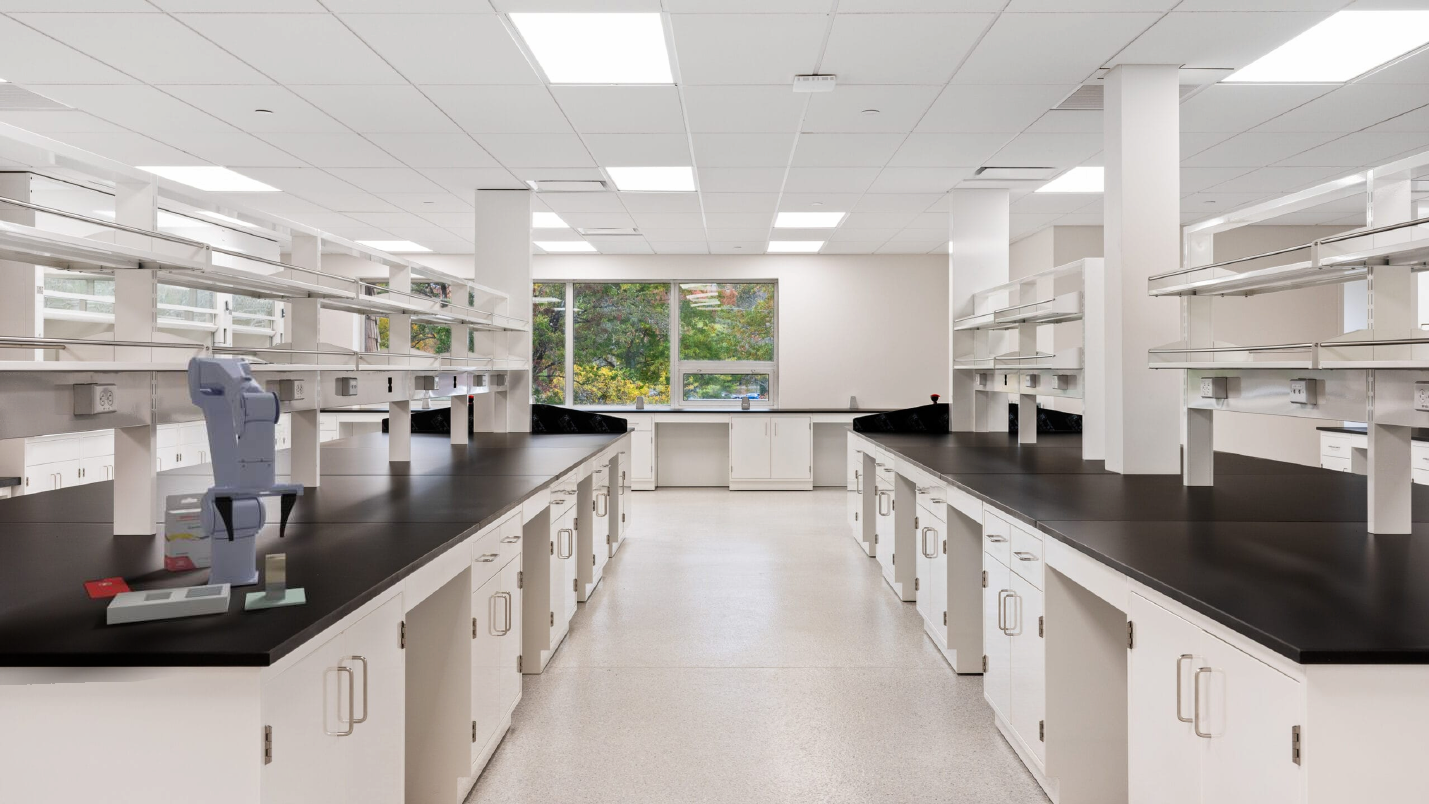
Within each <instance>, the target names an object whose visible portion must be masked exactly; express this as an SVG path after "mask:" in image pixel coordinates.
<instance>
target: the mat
mask: <svg viewBox="0 0 1429 804" xmlns="http://www.w3.org/2000/svg"><path fill="white" fill-rule="evenodd" d="M303 604H306V595H305V588H304V587H301V588H291V589H288V588H287V589H285V599H278V600H268V601H266V591H259V592H258V591H256V592H247V593H246V597H245V604H244V611H247V610H257V609H266V608H277V607H287V606H295V605H303Z"/></svg>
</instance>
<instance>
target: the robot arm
mask: <svg viewBox="0 0 1429 804" xmlns="http://www.w3.org/2000/svg"><path fill="white" fill-rule="evenodd" d="M187 383H188V389H189V390H188V391H189V397H190V399H191V403H192V404H193V405H195V406H197V407H199V408H201V410H202V414H203V416H204V420H205V426H206V433H207V438H208V439H207V440H208V446H209V452H210V453H209V454H210V459H211V466H212V472H213V473H212V474H213V480H214V481H213V482H214V486H213V487H208V488H207V491H205V492H204V493H205V494H204V495H203V497H202V499H201V502H200V507H201V513H200V521H201V528H202V531H203V532H204V533H205V534H206V535H207V536H210V537H211V566H210V576H209V579H208V581H207V584H206V585H215V584H226V583H230V587H235V586H236V587H237V586H246V585H255V584H258V582H259V581H258V580H259V571H258V570H256V535H258V534H259V531H261V530H262V529H263V527H265V525H266V518H267V510H266V504H265V501H264V500H263V498H264V497H267V498H268V497H280V522H279V539H281V538H283V539H284V538H285V532H286V527H287V524H288V520H289V517H290V515H291V512H292V511H293V508H294V505H295V504H296V501H297V496H304V483H276V425H278V424H279V423H278V422H279V420H280V417H281V401H280V398H279V395H278V394H277V391H269V392H266V391H265V390H264V389H263V387H262V386H261V385H260V383H258V381H257V380H256V379H255V378H253V377H252V368H251V363H250V362H249V361H248V360H247V359H246V358H245V357H242V358H226V357H225V358H223V357H222V358H221V357H219V358H218V357H216V358H214V357H198V356H193V357H192V358H191V359H189V362H188V365H187Z"/></svg>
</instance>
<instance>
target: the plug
mask: <svg viewBox="0 0 1429 804" xmlns="http://www.w3.org/2000/svg"><path fill="white" fill-rule="evenodd" d="M285 590H286V553H277V554H276V553H275V554H266V555H265V592H266V601H268V600H278V599H285Z"/></svg>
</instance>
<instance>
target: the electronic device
mask: <svg viewBox="0 0 1429 804" xmlns="http://www.w3.org/2000/svg"><path fill="white" fill-rule="evenodd" d="M83 586H84V587H85V589H86V591H87V593H88V595H89V597H90V599H93V600H94V599H100V598H109V597H116V595H117V594H118V593H126V592H132V591H131V589H130V588H129V587H128V585H127V583H126V581H125V580H124V579H123V578H122V577H111V578H100V579H93V580H84V581H83Z"/></svg>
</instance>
